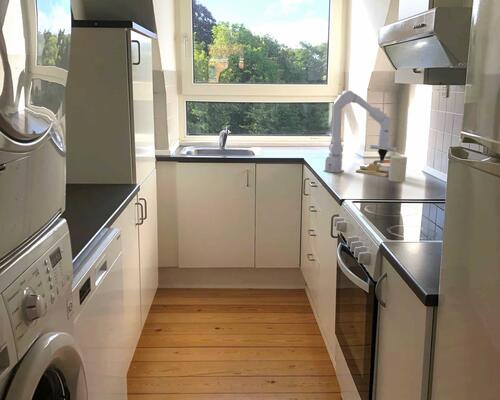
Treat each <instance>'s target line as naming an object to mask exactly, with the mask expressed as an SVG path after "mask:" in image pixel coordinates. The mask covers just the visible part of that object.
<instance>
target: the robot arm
mask: <svg viewBox="0 0 500 400" xmlns="http://www.w3.org/2000/svg"><path fill="white" fill-rule="evenodd" d="M351 103H353V104H354V103H355V104H358V105H359V106H360V107H361V108H363V109H365V111H367V112H368V116H369V117H371V119H373V120H374V121H376V122H377V123H378V124H379V130H378V131H379V132H378V133H379V134H378V143H377V145H376V144H370V147H369V149H371V150H377V153H378V155H379V160H385V157H386V155H388V152H397V150H398V149H397V147H395V146H390V137H391V126H392V125H393V120H392V118H391V117H390V116H388V115H387V113H385V112H383V111H381V108H380V107H376V106H374V107H373V106H371V104H369V102H367V101H366V100H365V99H363V98H362V97H361V96H359V94H357V93H354V92H353V91H352V90H347V89H346V90H343V91H342V92H340V93H339V94H338V96H337V98H336V99H335V100H334V102H333V104H332V119H331V121H332V122H331V124H332V125H331V126H332V128H331V139H330V144H329V146H328V150H329V153H328V156H327V157H326V158H325V164H324V165H325V166H324V170H323V172H326V173H327V172H328V173H334V172H335V173H334V174H336V173H341V172H344V171H345V170H344V169H342V165H343V163H342V162H343V161H342V160H343V159H342V158H343V154H342V153H343V151H344V148H343V145H342V115H343V114H342V113H343V108H344V107H345V106H346V105H348V104H351Z"/></svg>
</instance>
